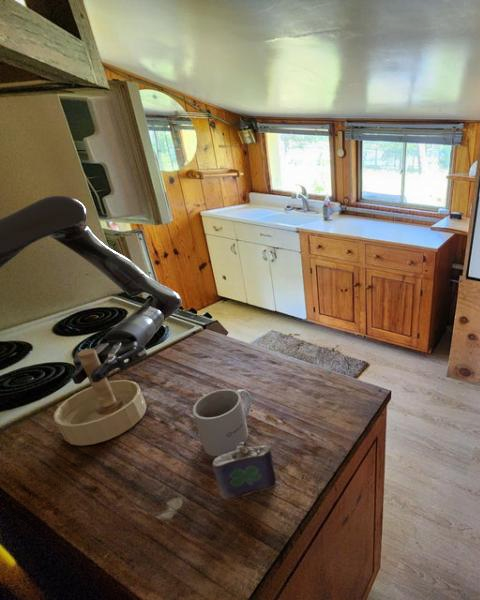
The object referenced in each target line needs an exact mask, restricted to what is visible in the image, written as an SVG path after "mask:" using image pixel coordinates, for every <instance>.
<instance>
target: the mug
mask: <svg viewBox="0 0 480 600" xmlns="http://www.w3.org/2000/svg"><path fill="white" fill-rule="evenodd" d="M242 395H243V397H244V406H243V400H242ZM194 403H195V404H194V405H193V407H192V414H193V417H194V421H195V423H196V427H197V431H198V433H199V437H200V440H201V444H202V447H203V450H204V452H205V453H206V454H208V455H209V456H212V457H219V456H221V455H224V454H227V453H230V452H232V451H236V449H237V447H238V446H241V445H244V444H246V442H247V439H248V438H249V428H248V424H247V419H246V418H247V416H248V414H249V413H250V411H251V406H252V399H251V395H250V393H249V391H247V390H246V389H240V388H239V389H238V390H236V389H232V388H222V389H217V390H214V391H211V392H208V393H206V394H205V395H203V396H202V397H200V398H199V399H198V400H196V402H194ZM241 442H244V444H241V445H240V444H239V443H241ZM237 444H238V445H237Z"/></svg>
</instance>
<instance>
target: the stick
mask: <svg viewBox="0 0 480 600" xmlns="http://www.w3.org/2000/svg"><path fill="white" fill-rule="evenodd" d="M78 357H79V359H80V361H81V363H82V366H83V368H84V370H85V372H86V375H87V380H88V381H89V383H90V387H92V388H93V390H94V392H95V395H96V397H97V399H98V401H99V403H98V404H97V405H96V407H95V409H96V411H97V413H98V414H100V415H106V414H110V413H113V412H115V411H117V410H118V409H120V408H121V407H122V405H123V402H122V399H121V398H120V397H114V394H113V392H112V389H111V387H110V385H109V380H108V377H107V376H106V377H105V378H104V379H102V380H101V381H100V382H95V383H94V382H93V380H92V378H91V373H92V372H93V371H95V370H96V369H97V368H98V367H99V366H100V365H101V363H100V361H99V358H98V356H97V354H96V351H95V349H93V347H92V348H85V349H83V350H82V351H80V352H79V353H78Z"/></svg>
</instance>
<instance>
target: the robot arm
mask: <svg viewBox="0 0 480 600" xmlns="http://www.w3.org/2000/svg"><path fill="white" fill-rule="evenodd" d="M47 237H50V238H51V239H53V240H55V241H56V242H58V243H60V244H61V245H63V246H64V247H66V248H68V249H69V250H70V251H72V252H74V253H75V254H77V255H78V256H79V257H81V258H83V259H84V260H85V261H86V262H88V263H89V264H91V265H92V266H93V267H94V268H96V269H97V270H98V271H99V272H101V274H103V275H104V276H105V277H106V278H108V279H109V280H110V281H111V282H112V283H113V284H115V285H116V286H117V287H118V288H119V289H120V290H122V291H123V292H124V293H126V295H128V296H129V297H132V298H135V297H138V296H141V295H142V294H144V293H145V294H148V295H150V296H151V297H150V298H149V299H147V301H145V302H144V303H143V304H142V305H141V306H140V307H139V308H138V309H136V310H135V311H133V312H132V313H131V314H130V315H129V316H127V317H126V318H124V319H122V320H121V321H120V322H119V323H118V324H116V325H115V326H114V327H113V328H112V329H110V330H109V331H108V332H107V333H106V334H105V335H104V336H103V338H102V340H101V343H99V344H98V345H96V346H95V347H92V349H95V351H96V354H97V356H98V358H99V361H100V363H101V365H100V366H99V367H98V368H97V369H96V370H95V371H93V372H92V373H91V378H92V380H93V382H94V383H95V382H100V381H101V380H102V379H104V378H105V377H107V376H108V375H109V374H110V373H112V372H114V371H116V369H119V370H125V369H127V368H128V367H130V366H131V365H133V364H135V363H137V362H139V361H140V360H142V359H143V358H144V359H145V357H147V356H148V354H147V350H146V348H145V346H146V345H147V344H148V343H149V342H150V340H151V339H152V338H153V337H154V335H155V334H156V332H157V331H159V329H161V327H162V325H163V324H164V322H165V321H167V320H168V319H169V318H170V317H171V316H172V315H173V314H174V313H175V312H177V311H178V310H179V309H180V308H181V307H182V305H183V300H182V297H181V296H180V295H179V293H178V292H177V291H175V290H173V289H172V288H170V287H168V286H166V285H164V284H162V283H160V282H159V281H157V280H155V279H153V278H152V277H150V276H149V275H148V274H146V272H144V271H143V270H142V269H141V268H140V267H139V266H138V265H137V264H136V263H134V262H133V261H132V260H130V259H129V258H127V257H126V256H124V255H122V254H120V253H118V252H117V251H115V250H113V249H111V248H110V247H108V246H107V245H105V244H104V243H103V242H102V241H101V240H100V239H99V238H98V237H96V235H95V234H94V233H93V232H92V231H91V229H90V228H89V227H88V212H87V209H86V207H85V206H84V204H83V203H82V202H80V201H79V200H77V199H75V198H73V197H70V196H66V195H51V196H46V197H44V198H40V199H38V200H36V201H35V202H32V203H31V204H29V205H26V206H25V207H23V208H20V209H18V210H16V211H15V212H13V213H10V214H8V215H6V216H4V217H1V218H0V269H1V268H2V267H4V266H5V265H6V264H8V263H9V262H10V261H12V260H13V259H14V258H15V257H17V256H18V255H19V254H20V253H21V252H23V251H24V250H25V249H26V248H28V247H30V246H31V245H33V244H34V243H36V242H38V241H40V240H42V239H44V238H47ZM82 350H84V349H82V348H80V349H77V350H76V351H75V353H74V358H73V365H74V367H75V371H74V372H73V373H71V375H70V376H71V379H72V381H73V383H74V384H75V385H80V384H82V383H83V382H84V381H85V380H86V379H88V377H87V375H86V372H85V370H84V368H83V366H82V363H81V361H80V359H79V357H78V353H79V352H80V351H82ZM126 359H127V361H126V362H125V360H126Z"/></svg>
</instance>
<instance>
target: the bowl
mask: <svg viewBox="0 0 480 600" xmlns="http://www.w3.org/2000/svg"><path fill="white" fill-rule="evenodd" d="M108 382H109V385H110V387H111V389H112V392H113V394H114V397H120V398H121V399H122V402H123V405H122V407H121V408H120V409H118V410H117V411H115V412H113V413H110V414H106V415H100V414H98V413H97V411H96V409H95V407H96V405H97V404H98V403H99V401H98V399H97V397H96V395H95V392H94V390H93V388H92V386H90V387H87V388H84V389H82V390H80V391H79V392H76V393H75V394H73V395H72V396H70V397H68V398H67V399H66V400H64V401H63V402H61V404H60V405H59V406H58V407H57V408H56V410H55V412H54V414H53V419H54V423H55V425H56V426H57V428H58V430H59V432H60V434H61V436H62V437H63V439H64V441H66V442H67V443H68V444H70V445H71V446H72V445H73V446H79V447H80V446H81V447H82V446H89V445H90V446H91V445H95V444H99V443H103V442H105V441H109V440H111V439H114V438H116V437H118V436H120V435H122V434H123V433H125V432H127V431H129V430H130V429H132V428H133V427H134V426H135V425H136V424H137V423H138V422H139V421H141V420H142V418H143V417H144V415H145V414H146V411H147V403H146V401H145V398H144V395H143V391H142V390H141V387H140V385H139V383H137V382H135V381H133V380H127V379H119V380H110V381H109V380H108Z"/></svg>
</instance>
